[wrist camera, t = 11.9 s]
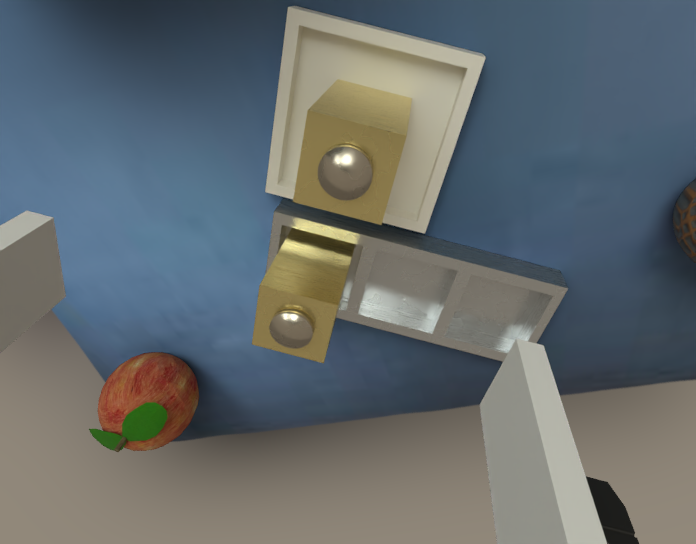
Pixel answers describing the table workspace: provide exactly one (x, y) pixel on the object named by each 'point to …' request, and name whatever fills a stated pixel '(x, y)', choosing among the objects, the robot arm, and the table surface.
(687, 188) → the vase
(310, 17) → the tray
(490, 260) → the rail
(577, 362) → the table surface
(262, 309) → the brass block with knob
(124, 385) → the fruit
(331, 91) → the knobbed block
